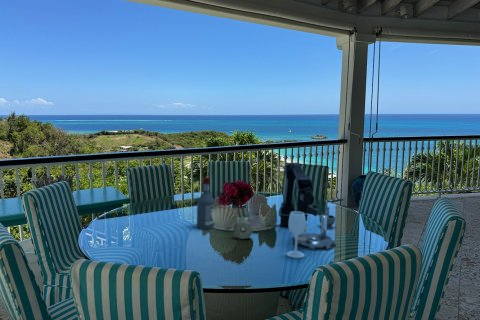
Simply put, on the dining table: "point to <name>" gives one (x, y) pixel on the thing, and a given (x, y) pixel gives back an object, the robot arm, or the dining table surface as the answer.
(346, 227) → the dining table surface
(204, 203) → the liquor
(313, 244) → the sprocket
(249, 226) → the stone disc
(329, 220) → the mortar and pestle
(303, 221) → the wineglass
